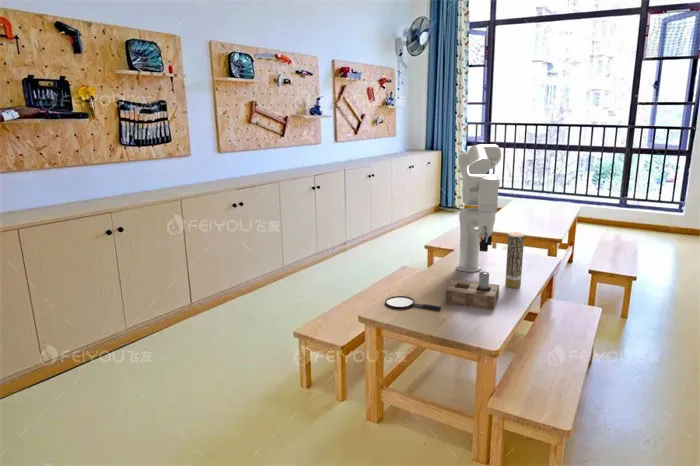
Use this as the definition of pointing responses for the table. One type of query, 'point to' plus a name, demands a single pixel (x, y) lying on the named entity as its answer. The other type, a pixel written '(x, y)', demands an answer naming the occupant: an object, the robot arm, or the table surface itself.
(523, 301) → the table surface
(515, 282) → the bark pattern cylinder
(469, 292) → the brown rectangular block
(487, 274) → the steel pin
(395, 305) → the magnifying glass
